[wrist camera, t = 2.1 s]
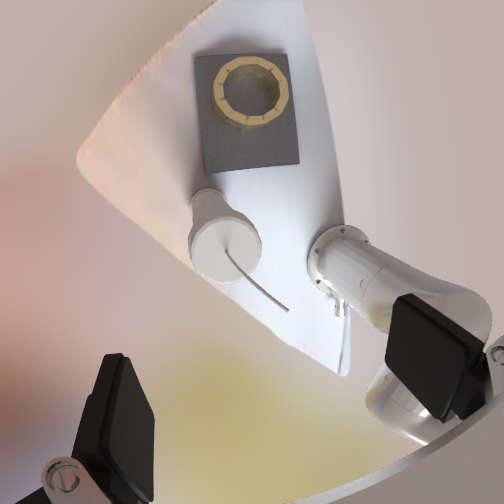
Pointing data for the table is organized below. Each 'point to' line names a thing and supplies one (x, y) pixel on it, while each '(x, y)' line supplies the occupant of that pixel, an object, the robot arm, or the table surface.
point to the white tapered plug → (223, 241)
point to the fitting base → (246, 111)
